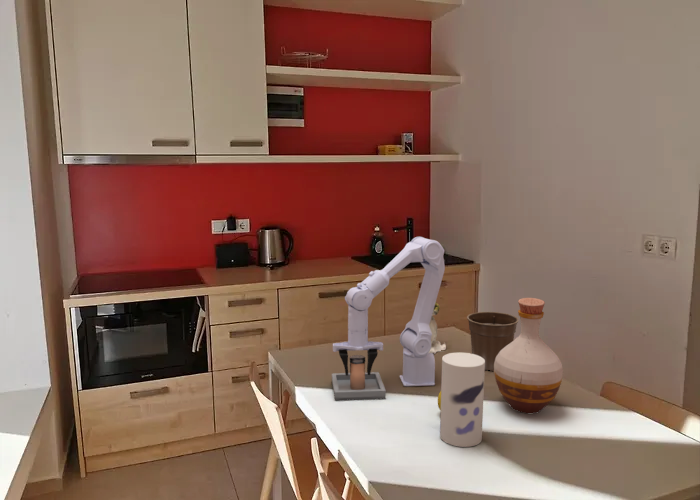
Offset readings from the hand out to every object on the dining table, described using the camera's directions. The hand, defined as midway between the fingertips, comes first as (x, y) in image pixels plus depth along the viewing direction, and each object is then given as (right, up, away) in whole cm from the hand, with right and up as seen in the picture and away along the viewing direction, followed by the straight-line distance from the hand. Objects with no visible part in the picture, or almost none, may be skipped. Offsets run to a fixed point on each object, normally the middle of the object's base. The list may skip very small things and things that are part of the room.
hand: (357, 373), depth 165 cm
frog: (+26, 0, +38) cm, 46 cm away
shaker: (0, -4, +1) cm, 4 cm away
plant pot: (+44, -2, +22) cm, 49 cm away
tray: (0, -5, +1) cm, 5 cm away
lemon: (+24, -8, -16) cm, 30 cm away
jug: (+46, -7, -10) cm, 48 cm away
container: (+25, -10, -28) cm, 38 cm away
